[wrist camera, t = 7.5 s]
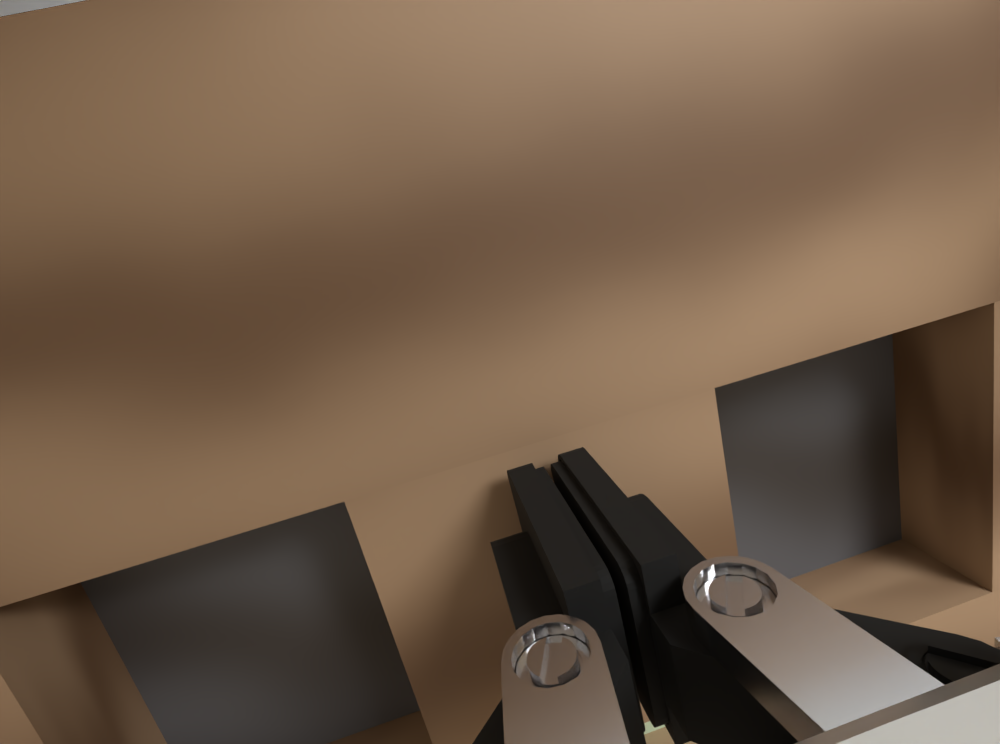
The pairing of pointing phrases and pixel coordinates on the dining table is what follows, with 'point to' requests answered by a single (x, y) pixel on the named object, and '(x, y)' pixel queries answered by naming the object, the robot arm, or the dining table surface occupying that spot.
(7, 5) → the dining table surface
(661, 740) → the maple block
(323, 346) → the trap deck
